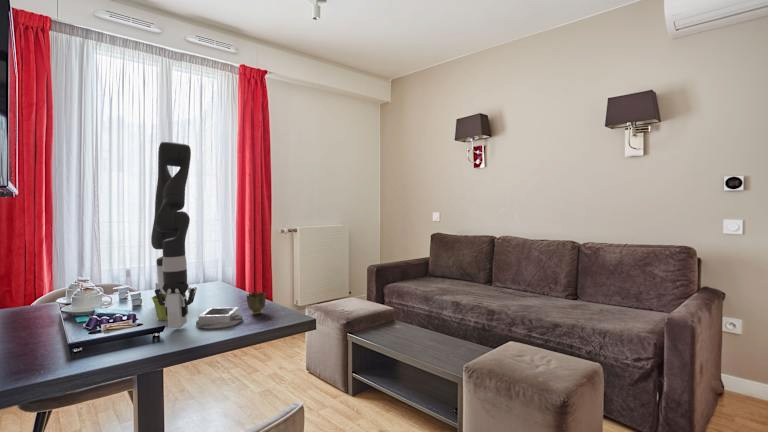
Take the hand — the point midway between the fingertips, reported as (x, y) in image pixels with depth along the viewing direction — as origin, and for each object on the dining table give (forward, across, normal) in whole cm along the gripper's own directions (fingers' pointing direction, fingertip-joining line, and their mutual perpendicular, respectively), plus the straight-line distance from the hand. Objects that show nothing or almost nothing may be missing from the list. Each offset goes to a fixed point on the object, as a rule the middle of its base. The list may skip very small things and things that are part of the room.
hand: (177, 316), depth 146 cm
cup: (+5, -23, -17) cm, 29 cm away
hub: (+5, -12, -7) cm, 15 cm away
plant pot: (+5, +11, -15) cm, 19 cm away
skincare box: (+4, 0, 0) cm, 4 cm away
